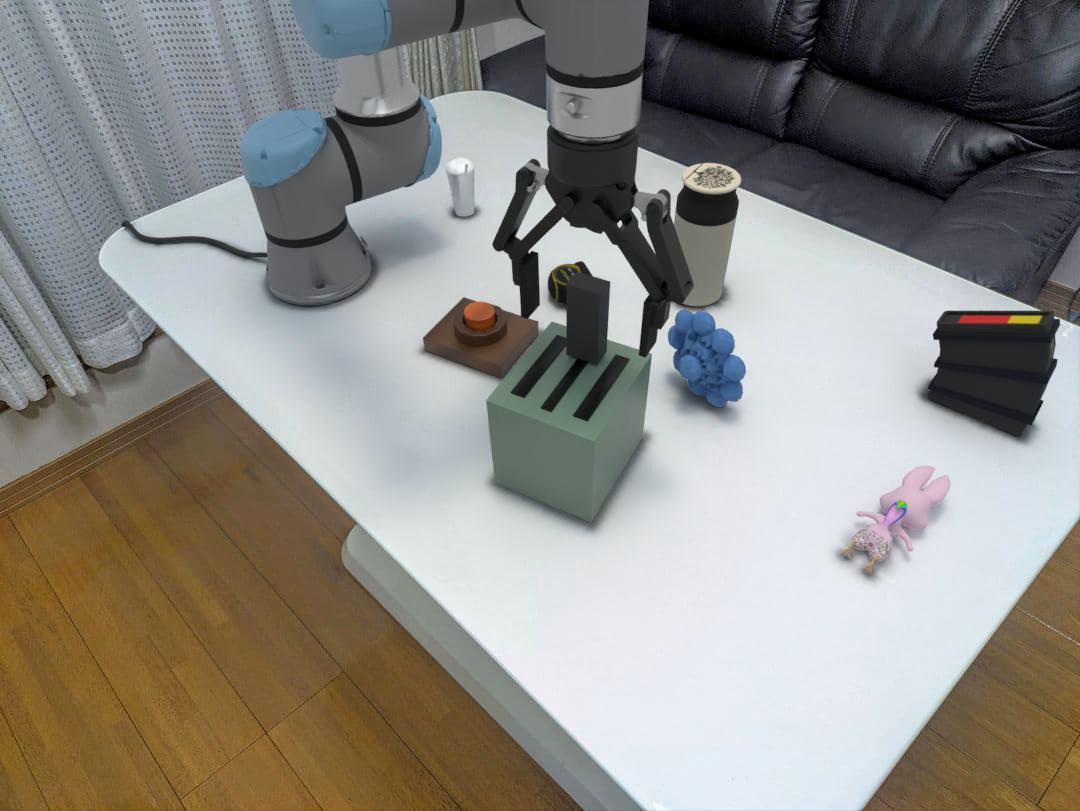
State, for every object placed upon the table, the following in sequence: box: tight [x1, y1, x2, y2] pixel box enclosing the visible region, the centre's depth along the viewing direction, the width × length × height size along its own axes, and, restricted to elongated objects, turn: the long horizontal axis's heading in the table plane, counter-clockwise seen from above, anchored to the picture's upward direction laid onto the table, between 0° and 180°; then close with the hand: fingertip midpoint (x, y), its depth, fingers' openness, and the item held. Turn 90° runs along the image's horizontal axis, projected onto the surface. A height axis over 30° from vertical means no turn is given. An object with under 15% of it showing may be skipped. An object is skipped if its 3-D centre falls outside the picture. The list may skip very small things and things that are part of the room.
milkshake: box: [445, 157, 476, 218], centre depth 119 cm, size 4×5×10 cm
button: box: [464, 301, 495, 330], centre depth 96 cm, size 4×4×2 cm
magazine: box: [926, 310, 1061, 437], centre depth 84 cm, size 4×13×15 cm, turn 50°
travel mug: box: [673, 162, 742, 307], centre depth 100 cm, size 8×8×18 cm
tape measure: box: [547, 260, 593, 306], centre depth 105 cm, size 7×7×4 cm
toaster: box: [485, 321, 653, 523], centre depth 80 cm, size 12×14×13 cm
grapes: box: [667, 309, 747, 408], centre depth 87 cm, size 12×7×12 cm, turn 39°
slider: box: [565, 272, 611, 365], centre depth 74 cm, size 4×2×9 cm, turn 61°
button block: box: [422, 296, 540, 379], centre depth 98 cm, size 12×10×4 cm
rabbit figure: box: [841, 465, 951, 575], centre depth 75 cm, size 6×6×15 cm
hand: (587, 329), depth 75 cm, fingers open, 12 cm apart
